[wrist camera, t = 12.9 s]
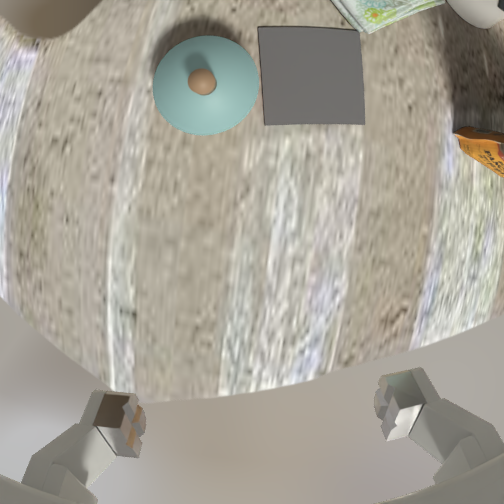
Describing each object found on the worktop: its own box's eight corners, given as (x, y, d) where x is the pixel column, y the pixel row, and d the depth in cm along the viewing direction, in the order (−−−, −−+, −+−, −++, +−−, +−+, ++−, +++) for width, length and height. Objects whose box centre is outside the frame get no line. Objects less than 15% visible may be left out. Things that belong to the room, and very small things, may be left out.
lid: (150, 46, 31) (140, 39, 27) (253, 32, 31) (255, 22, 27) (160, 141, 36) (150, 145, 32) (262, 129, 36) (265, 131, 32)
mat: (258, 28, 35) (258, 27, 35) (358, 31, 35) (359, 31, 35) (264, 125, 41) (265, 125, 40) (364, 124, 41) (365, 124, 40)
